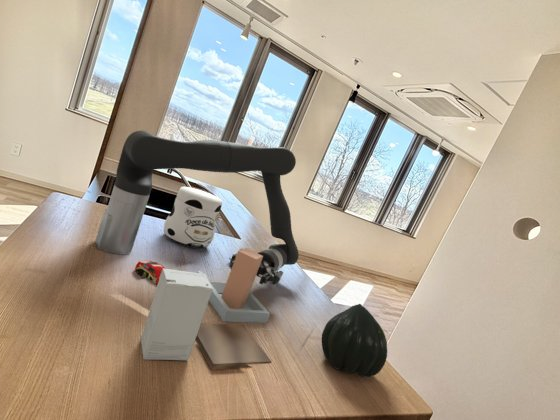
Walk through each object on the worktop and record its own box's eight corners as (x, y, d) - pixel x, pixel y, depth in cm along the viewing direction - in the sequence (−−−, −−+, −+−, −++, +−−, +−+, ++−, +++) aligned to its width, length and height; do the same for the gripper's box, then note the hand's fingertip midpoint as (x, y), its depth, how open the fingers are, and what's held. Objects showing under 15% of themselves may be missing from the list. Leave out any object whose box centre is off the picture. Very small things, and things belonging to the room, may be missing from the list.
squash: (390, 381, 74) (401, 312, 82) (320, 353, 75) (338, 289, 84) (369, 391, 85) (380, 330, 94) (309, 367, 87) (325, 309, 95)
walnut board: (211, 369, 65) (213, 363, 65) (188, 328, 76) (190, 322, 76) (269, 366, 73) (271, 361, 73) (241, 329, 83) (243, 324, 83)
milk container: (194, 255, 118) (212, 204, 115) (150, 235, 122) (167, 184, 119) (217, 247, 135) (233, 202, 132) (177, 229, 138) (192, 185, 136)
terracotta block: (219, 302, 90) (238, 250, 88) (227, 297, 95) (246, 248, 93) (236, 311, 89) (256, 259, 87) (244, 305, 93) (263, 256, 91)
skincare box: (182, 342, 70) (207, 273, 68) (188, 363, 65) (215, 288, 63) (137, 339, 66) (162, 265, 64) (140, 361, 61) (167, 281, 59)
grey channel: (222, 324, 82) (227, 311, 81) (193, 282, 98) (197, 271, 97) (265, 326, 89) (270, 313, 88) (232, 286, 105) (236, 275, 104)
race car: (179, 293, 90) (185, 279, 89) (162, 296, 85) (167, 281, 85) (149, 269, 97) (153, 255, 96) (131, 270, 92) (135, 256, 92)
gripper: (251, 241, 110) (228, 248, 95) (293, 260, 106) (276, 271, 91) (242, 263, 111) (218, 274, 96) (284, 283, 107) (266, 298, 92)
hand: (246, 273), depth 93 cm, fingers open, 8 cm apart
